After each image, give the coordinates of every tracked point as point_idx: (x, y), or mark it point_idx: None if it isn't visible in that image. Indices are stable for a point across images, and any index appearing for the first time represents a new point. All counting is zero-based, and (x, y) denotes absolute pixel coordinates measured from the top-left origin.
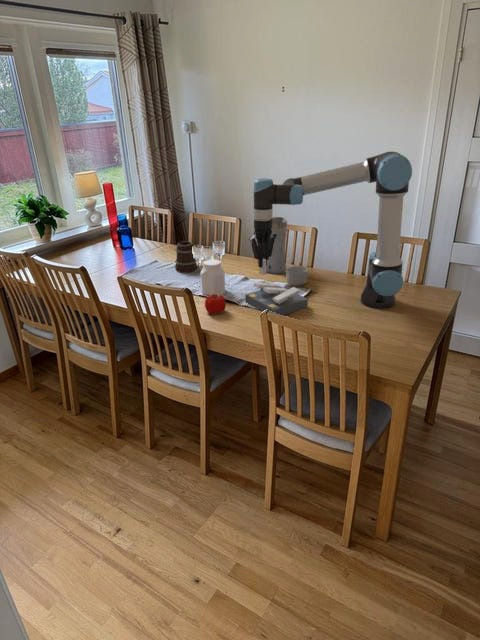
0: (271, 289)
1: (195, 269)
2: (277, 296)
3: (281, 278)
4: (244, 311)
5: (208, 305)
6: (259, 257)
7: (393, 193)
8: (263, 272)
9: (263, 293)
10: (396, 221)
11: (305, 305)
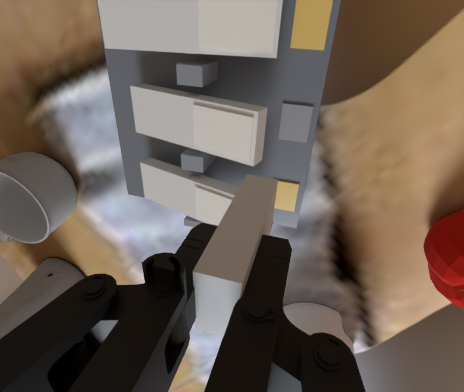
0: (235, 114)
1: None
2: (247, 42)
3: (78, 240)
4: (378, 150)
5: None
6: (310, 365)
7: None
8: (272, 190)
9: (228, 179)
10: None
11: None
